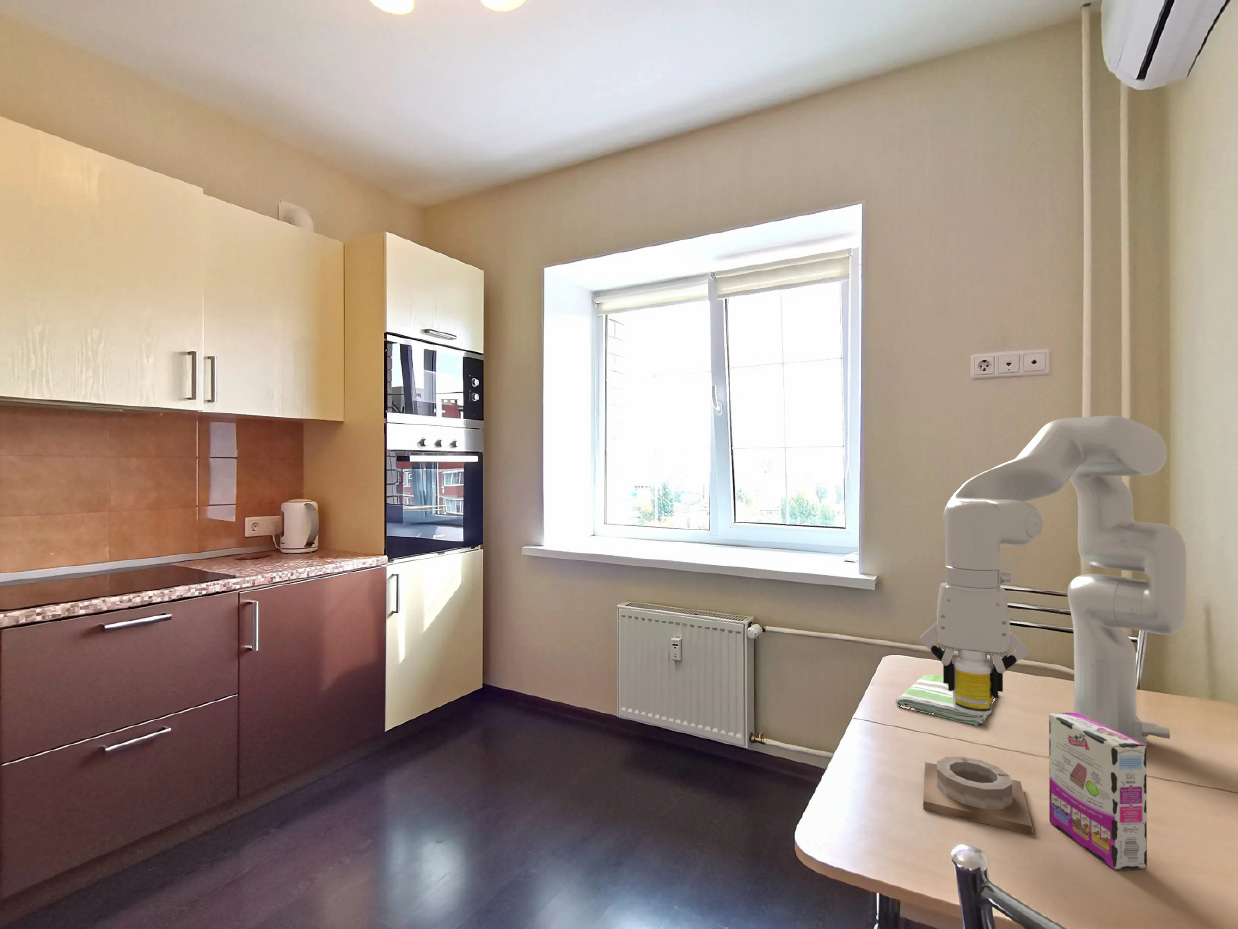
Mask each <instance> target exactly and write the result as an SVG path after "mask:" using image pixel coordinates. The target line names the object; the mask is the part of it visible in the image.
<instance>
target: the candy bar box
mask: <svg viewBox="0 0 1238 929" xmlns="http://www.w3.org/2000/svg"><path fill="white" fill-rule="evenodd" d="M1048 715H1049V716H1048V723H1049V725H1048V727H1049V728H1048V730H1049V731H1048V732H1049V733H1048V735H1049V736H1048V737H1049V738H1048V739H1049V740H1048V745H1049V746H1048V749H1049V750H1048V751H1049V753H1048V755H1049V756H1048V757H1049V760H1048V765H1049V766H1048V767H1049V768H1048V769H1049V779H1048V780H1049V783H1048V784H1049V791H1048V792H1049V799H1048V800H1049V803H1048V804H1049V823H1050V824H1051V825H1052V826H1054V827H1055V828H1056V829H1058V830H1059V831H1061V832H1062V833H1063V834H1065V835H1066V836H1068V837H1069V838H1070V839H1072V840H1073V841H1074V842H1076V843H1077V844H1078V845H1079V846H1081V847H1083V848H1084V849H1085V850H1087V851H1088V852H1089V853H1091V854H1093V855H1094V856H1095V857H1097V858H1098V859H1099V860H1101V861H1102V862H1103V863H1104V864H1106V865H1107V866H1109V867H1110V868H1112V869H1114V870H1115V871H1117V870H1118V871H1120V870H1121V871H1122V870H1123V871H1124V870H1146V869H1147V868H1148V842H1147V841H1148V838H1147V833H1148V829H1147V828H1148V826H1147V824H1148V822H1147V818H1148V817H1147V816H1148V814H1147V812H1148V811H1147V808H1148V807H1147V799H1148V798H1147V797H1148V796H1147V795H1148V794H1147V793H1148V792H1147V788H1148V786H1147V784H1148V783H1147V776H1148V775H1147V748H1148V747H1147V746H1148V744H1147V745H1145V744H1143V743H1141V742H1139V741H1136V740H1134V739H1132V738H1130V737H1128V736H1126V735H1124V734H1122V733H1120V732H1117V731H1115V730H1113V729H1111V728H1109V727H1107V726H1105V725H1102V724H1100V723H1098V722H1096V721H1094V720H1092V719H1090V718H1087V717H1085V716H1083V715H1081V714H1079V713H1074V712H1059V713H1058V712H1057V713H1048Z"/></svg>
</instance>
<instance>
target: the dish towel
mask: <svg viewBox="0 0 1238 929" xmlns="http://www.w3.org/2000/svg"><path fill="white" fill-rule="evenodd" d="M993 699H994V697H992V702H993ZM895 705H896V706H897V707H898V706H901V705H902V706H905V707H910V708H909V709H911V708H914V709H915V711H914V712H916V711H921V712H922V711H923V712H926V713H931V714H932V713H934V714H933V715H938V716H939V717H938V716H937V717H938V718H942V717H943V719H946V718H949V719H948V720H952V721H955V722H958V723H965V724H969V725H972V724H974V725H973V726H976V727H978V726H979V725H980V724H983V723H984V722H985V720H986V719H987V717H988V715H973V714H968V713H964V712H962V711H960V710H958V709H956V708H955V707H954V706H953V690H952V691H948V684H946V683H943V675H937V674H923V675H921V676H920V678H918V680H917V681H915V682H914V683H913V684H912V685H911V686H910V687H909V688H908V689H906V690H905V691H904V692H903V694H902V695H900V696H897V698H895ZM933 715H932V716H933Z"/></svg>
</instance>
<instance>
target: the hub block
mask: <svg viewBox="0 0 1238 929" xmlns="http://www.w3.org/2000/svg"><path fill="white" fill-rule="evenodd" d="M923 775H924V776H923V778H924V779H923V802H922V803H923V804H922V805H923V806H922V807H923V808H922V809H923V810H926V811H930V812H935V813H938V814H939V813H940V814H944V815H948V816H951V817H952V816H953V817H955V818H961V819H965V820H968V821H969V820H970V821H972V822H973V821H974V822H976V823H977V822H978V823H981V824H986V825H991V826H995V827H998V828H1003V829H1007V830H1011V831H1015V832H1019V833H1023V834H1024V833H1025V834H1027V835H1033V825H1032V821H1031V817H1030V813H1029V808H1028V804H1027V801H1026V798H1025V794H1024V790H1023V787H1022V781H1019V780H1015V779H1012V778H1011V775H1010V774H1008V773H1007V772H1006V771H1005V770H1003V769H1002V768H1001V767H999V766H997V765H994V764H991V763H989V762H987V761H984V760H981V759H977V758H976V759H975V758H972V757H967V756H944V757H943V758H941V759H939V760H937V761H936V763H933V762H927V761H924V774H923Z"/></svg>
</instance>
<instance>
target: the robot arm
mask: <svg viewBox="0 0 1238 929" xmlns="http://www.w3.org/2000/svg"><path fill="white" fill-rule="evenodd" d="M1167 456H1168V449H1167V445H1166V443H1165V441H1164V438H1163V437H1162V436H1161V435H1160V434H1159V433H1158V432H1157V430H1154V429H1153V428H1151V427H1149V426H1146V425H1144V424H1142V423H1141V422H1138V421H1135V420H1133V419H1130V418H1128V417H1124V416H1119V415H1098V416H1082V417H1081V416H1079V417H1067V418H1066V417H1065V418H1059V419H1055V420H1052V421H1049V422H1048V423H1046V424H1045V425H1043V426H1042V428H1040V430H1038V431H1037V433H1036V434H1035V435H1034V436H1033V438H1032V439H1031V440H1030V441H1029V442H1028V444H1027V445H1026V446H1025V447H1024V448H1023V449H1022V450H1021V451H1020V453H1019V454H1018V455H1017V456H1016V457H1015V458H1014V459H1012V460H1009V461H1007V462H1004V463H1002V464H999V465H996V466H995V467H993V468H990V469H988V470H985V471H983V472H982V473H979V474H977V475H974V476H973V477H971V478H970V479H968V480H967V481H965V482H964V483H963V484H962V485H961V486H960V487H959V489H957V490H956V492H955V493H954V494H953V495H952V496H951V497H950V499H949V500H948V502H947V503H946V506H945V507H944V510H943V513H942V524H943V527H944V530H945V534H944V535H945V537H944V538H945V544H944V545H945V548H944V549H945V551H944V552H945V554H944V555H945V557H944V558H945V559H944V560H945V562H944V563H945V582H941V583H940V584H939V588H938V594H937V604H936V619H935V620H936V622H935V623H933V624H932V625H931V626H930V627H929V628H928V629H926V631H924V633H923V634H921V635H920V637H919V641H920V643H921V644H922V645H924V647H926V648H927V649H929V651H930V652H931V654H932V655H933V656H935V657H936V658H937V659H938V660H939V661H940V662H941V664H942V666H943V667H942V671H943V675H942V677H943V683H946V684H948V691H952V690H953V660H952V659H953V656H954V653H955V651H956V650H958V649H960V650H970V651H978V652H984V653H987V654H989V655H990V656H991V659H992V662H993V664H992V667H991V668H992V697H994V698H997V699H998V698H999V692H1000V693H1003V692H1004V685H1003V684H1004V676H1003V675H1004V673H1005V672H1006V670H1008V669H1010V668H1011V667H1012V666H1014V665H1015V664H1016V663H1017V662H1018V661H1020V660H1022V659H1024V658H1026V657H1027V656H1029V654H1030V651H1029V649H1028V647H1026V645H1025V644H1023V643H1022V642H1021V640H1020V639H1019V638H1018V637H1017V636H1016V634H1014V632H1012V631H1011V627H1010V626H1011V623H1010V613H1009V605H1008V597H1007V593H1006V590H1005V588H1003V587H1001V585H1003V583H1004V584H1005V583H1011V581H1012V575H1011V573H1006V572H1003V571H1002V570H1001V569H1000V568H1001V551H1000V550H1001V547H1000V546H1014V547H1020V546H1027V545H1029V544H1031V543H1033V542H1034V541H1035V540H1037V539H1038V538H1039V536H1040V535H1041V533H1042V530H1043V523H1044V522H1043V518H1042V514H1041V512H1040V511H1039V509H1038V508H1037V507H1036V506H1034V505H1033V504H1032V503H1030V502H1027V501H1032V500H1037V499H1040V498H1044V497H1047V496H1048V497H1049V496H1051V495H1054V494H1056V493H1058V491H1060V490H1062V489H1063V487H1064V486H1065V485H1066V483H1067V482H1068V481H1070V483H1071V484H1072V486H1073V488H1074V490H1075V494H1076V497H1077V548H1078V550H1077V551H1078V554H1079V557H1080V559H1081V560H1082V562H1084V563H1085V564H1086V565H1090V566H1094V567H1098V568H1103V569H1111V570H1120V571H1126V572H1127V571H1128V572H1136V573H1142V574H1145V575H1146V577H1147V579H1139V578H1131V577H1125V576H1120V575H1119V576H1118V575H1111V574H1102V573H1085V574H1081V575H1077V576H1076V577H1074V578H1073V579H1072V580H1071V581H1070V583H1069V584H1068V587H1067V600H1068V605H1069V610H1070V615H1071V620H1072V630H1073V631H1072V632H1073V675H1074V678H1073V680H1074V682H1073V683H1074V684H1073V685H1074V686H1073V687H1074V688H1073V690H1074V691H1073V692H1074V693H1073V695H1074V699H1073V700H1074V709H1073V710H1074V712H1073V713H1079V714H1081V715H1083V716H1085V717H1087V718H1090V719H1092V720H1094V721H1096V722H1098V723H1100V724H1102V725H1105V726H1107V727H1109V728H1111V729H1113V730H1115V731H1117V732H1120V733H1122V734H1124V735H1126V736H1128V737H1130V738H1132V739H1134V740H1136V741H1139V742H1141V743H1143V744H1145V745H1147V746H1148V737H1149V736H1154V737H1157V738H1163V739H1170V738H1171V732H1170V729H1169V727H1165V726H1157V723H1156V722H1149V721H1142V720H1141V719H1140V718H1139V717H1138V716H1137V652H1136V648H1135V646H1134V643H1133V641H1132V640H1131V639H1130V637H1129V635H1128V634H1127V633H1126V631H1125V630H1124V629H1130V630H1136V631H1141V632H1146V633H1147V632H1148V633H1151V634H1156V635H1158V634H1159V635H1174V634H1177V633H1179V632H1180V631H1181V629H1183V626H1184V624H1185V621H1186V614H1187V548H1186V543H1185V540H1184V538H1183V535H1182V533H1181V532H1180V531H1179V530H1178V529H1176V528H1175V527H1173V525H1172V526H1171V525H1169V524H1165V523H1160V522H1148V521H1147V522H1145V521H1136V520H1135V519H1134V496H1133V493H1132V491H1131V489H1130V488H1129V487H1128V485H1127V484H1126V483H1125V482H1124V481H1123V480H1122V479H1121V478H1120V477H1121V476H1125V477H1126V476H1127V477H1131V476H1132V477H1133V476H1134V477H1135V476H1136V477H1143V476H1144V477H1146V476H1152V475H1154V474H1156V473H1158V472H1159V471H1161V469H1163V467H1164V466H1165V464H1166V461H1167V459H1168V458H1167ZM935 637H936V639H937V643H938V644H939V645H940V646H942V647H944V649H942V647H940V646H939V645H938V644H937V643H935V641H934V640H933V638H935ZM1011 646H1012V647H1013V648H1014V650H1013V651H1012V652H1010V653H1009V651H1010V650H1011ZM1006 653H1007V654H1006ZM1003 654H1004V656H1003V657H1002V656H1001V655H1003ZM1005 654H1006V655H1005Z"/></svg>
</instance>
